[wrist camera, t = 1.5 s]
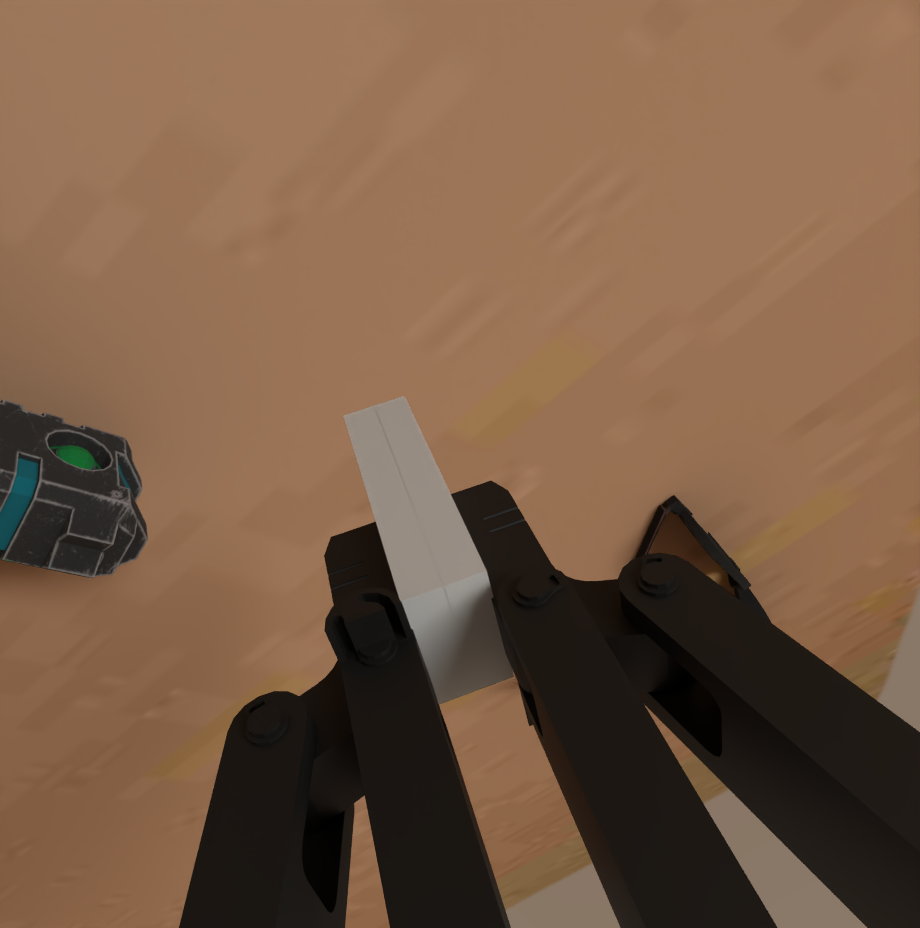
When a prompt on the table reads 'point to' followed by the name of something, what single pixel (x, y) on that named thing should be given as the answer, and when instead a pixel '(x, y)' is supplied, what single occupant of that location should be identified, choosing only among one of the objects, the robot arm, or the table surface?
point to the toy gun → (66, 495)
